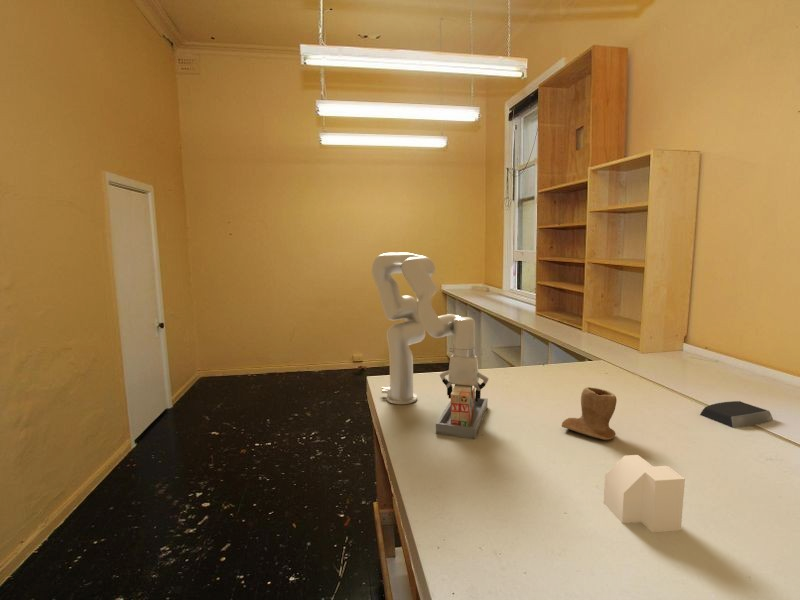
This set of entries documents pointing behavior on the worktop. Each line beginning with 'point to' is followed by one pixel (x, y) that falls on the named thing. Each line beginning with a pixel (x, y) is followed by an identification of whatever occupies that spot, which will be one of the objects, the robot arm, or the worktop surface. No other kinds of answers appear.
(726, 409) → the external hard drive
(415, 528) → the worktop surface
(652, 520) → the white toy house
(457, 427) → the tray
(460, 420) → the stack of blocks
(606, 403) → the brown suede boot
